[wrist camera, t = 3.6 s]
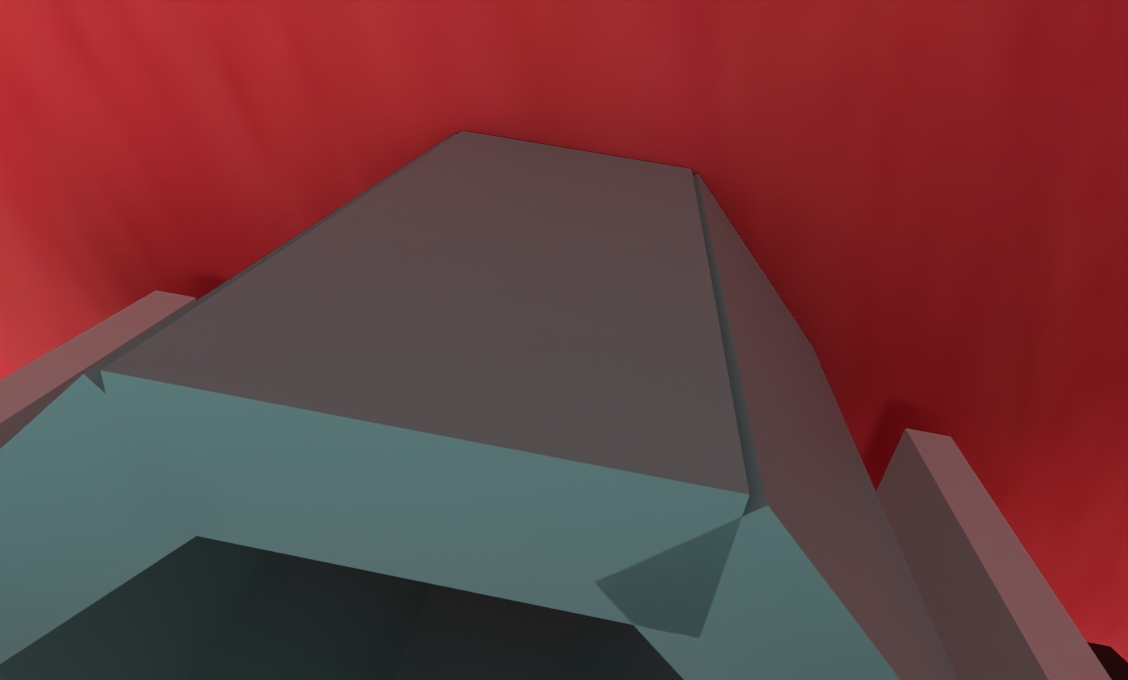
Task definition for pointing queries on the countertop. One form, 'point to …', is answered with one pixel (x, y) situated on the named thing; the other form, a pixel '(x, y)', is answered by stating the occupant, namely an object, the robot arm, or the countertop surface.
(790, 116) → the countertop surface
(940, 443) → the robot arm
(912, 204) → the countertop surface
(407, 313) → the collar
